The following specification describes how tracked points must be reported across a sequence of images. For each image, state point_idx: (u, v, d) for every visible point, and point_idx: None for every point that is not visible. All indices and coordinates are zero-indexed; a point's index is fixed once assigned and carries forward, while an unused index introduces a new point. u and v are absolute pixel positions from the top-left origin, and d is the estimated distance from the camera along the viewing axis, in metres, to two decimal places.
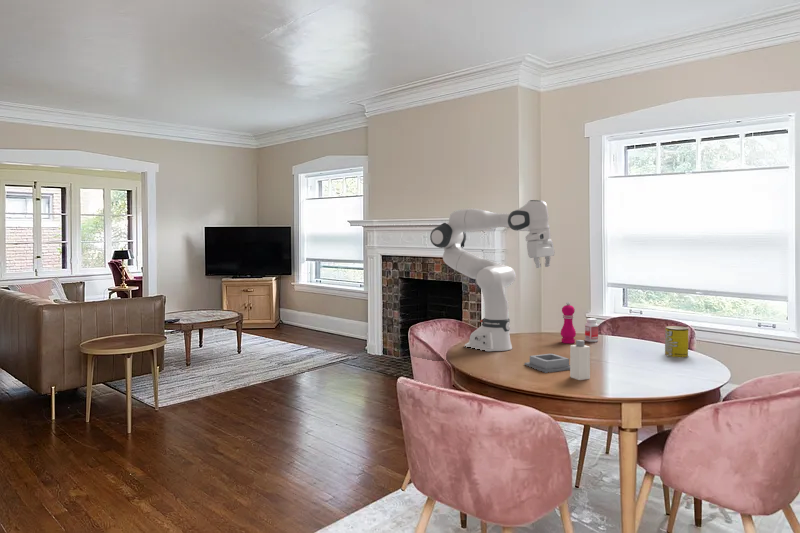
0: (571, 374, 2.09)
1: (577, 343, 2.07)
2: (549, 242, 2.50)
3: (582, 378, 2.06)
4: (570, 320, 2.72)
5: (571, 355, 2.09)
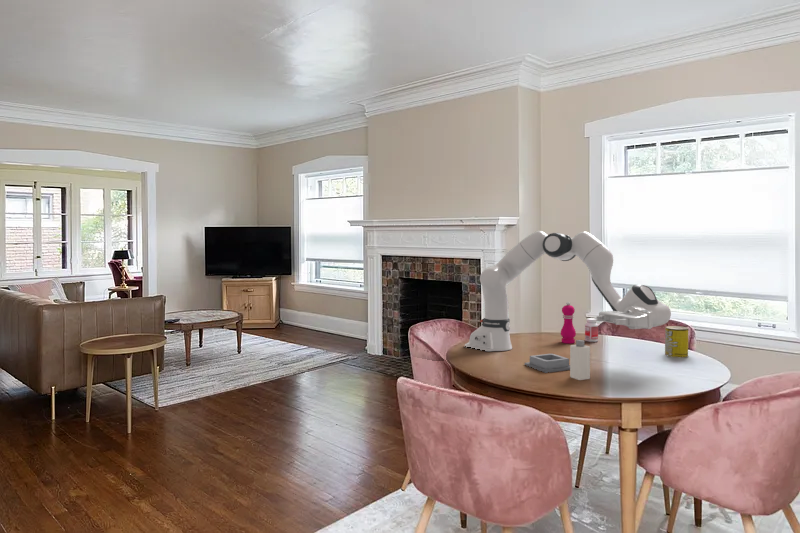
0: (571, 374, 2.09)
1: (577, 343, 2.07)
2: None
3: (582, 378, 2.06)
4: (570, 320, 2.72)
5: (571, 355, 2.09)
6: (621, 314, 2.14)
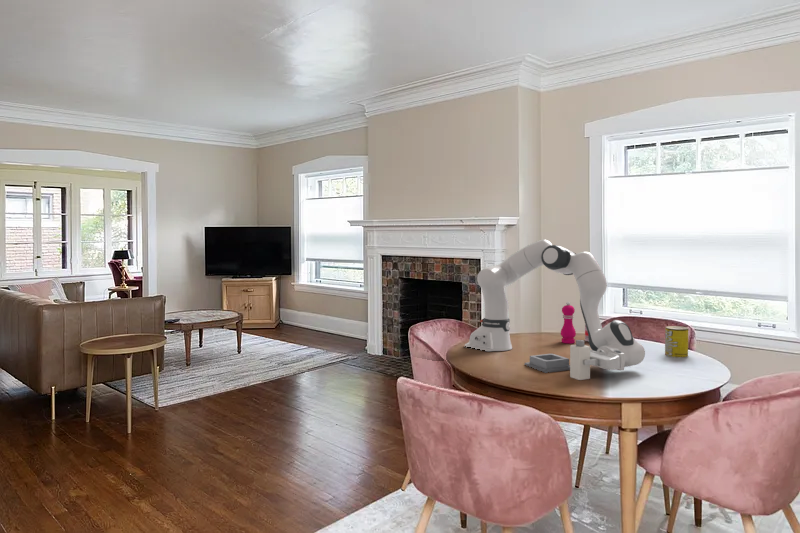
0: (571, 374, 2.09)
1: (577, 343, 2.07)
2: None
3: (582, 378, 2.06)
4: (570, 320, 2.72)
5: (571, 355, 2.09)
6: (593, 354, 2.10)
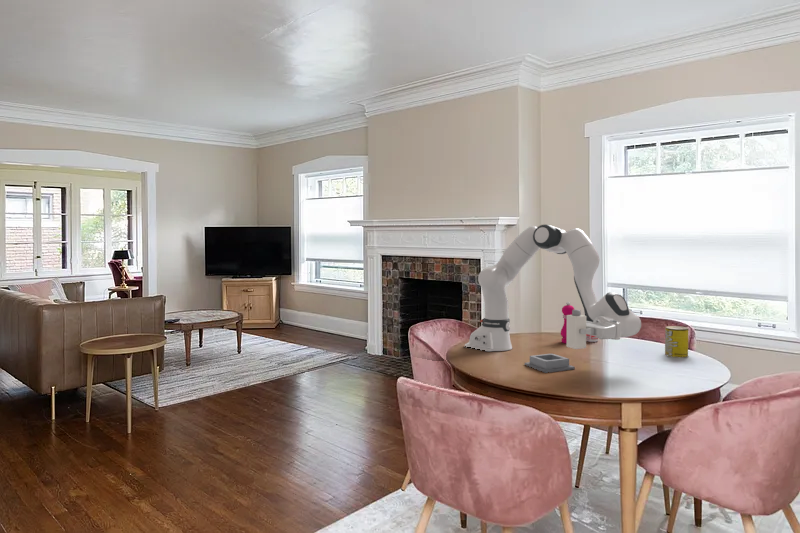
0: (567, 344, 2.10)
1: (573, 312, 2.08)
2: None
3: (578, 347, 2.07)
4: None
5: (567, 325, 2.10)
6: (590, 324, 2.11)
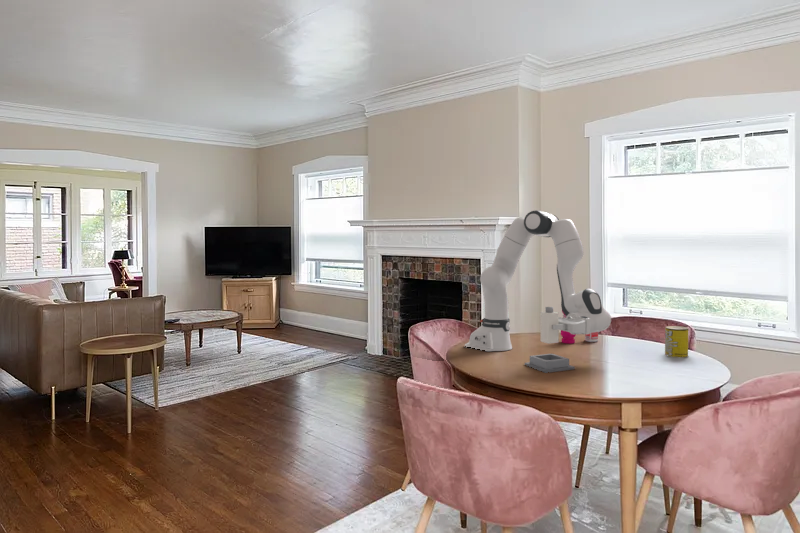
0: (541, 339, 2.25)
1: (546, 309, 2.23)
2: None
3: (551, 342, 2.22)
4: None
5: (541, 321, 2.25)
6: (562, 320, 2.26)
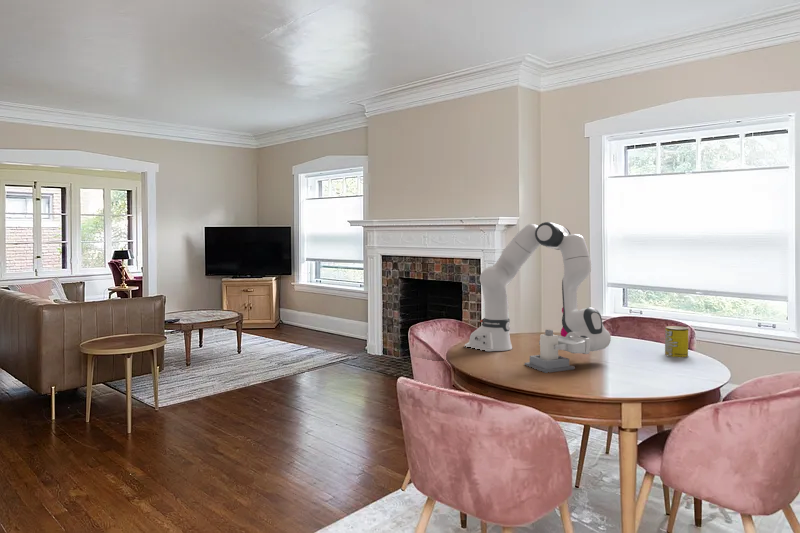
0: None
1: (546, 332, 2.24)
2: None
3: None
4: None
5: (541, 344, 2.26)
6: (562, 339, 2.27)
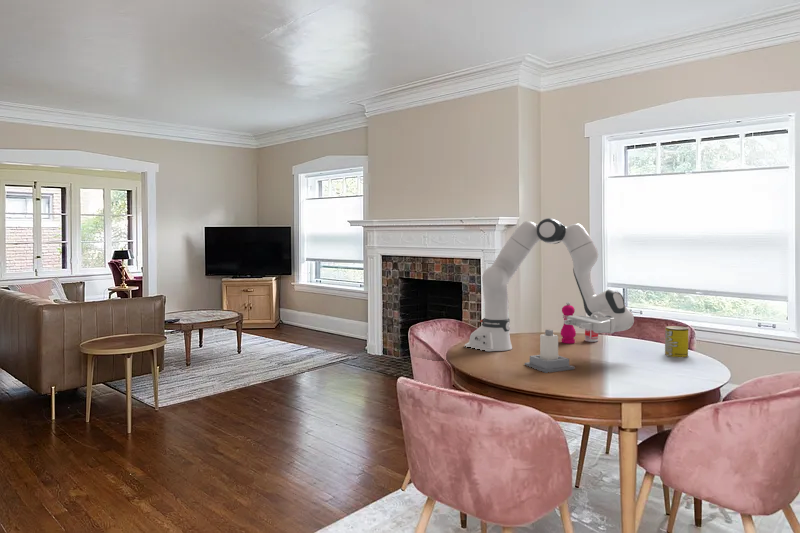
0: None
1: (546, 332, 2.24)
2: None
3: None
4: None
5: (541, 344, 2.26)
6: (587, 319, 2.31)
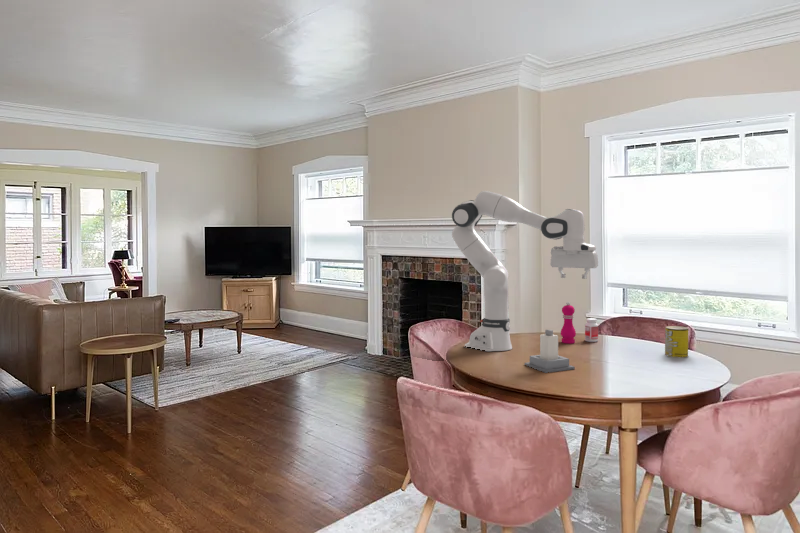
0: None
1: (546, 332, 2.24)
2: None
3: None
4: (570, 320, 2.72)
5: (541, 344, 2.26)
6: (573, 262, 2.42)
